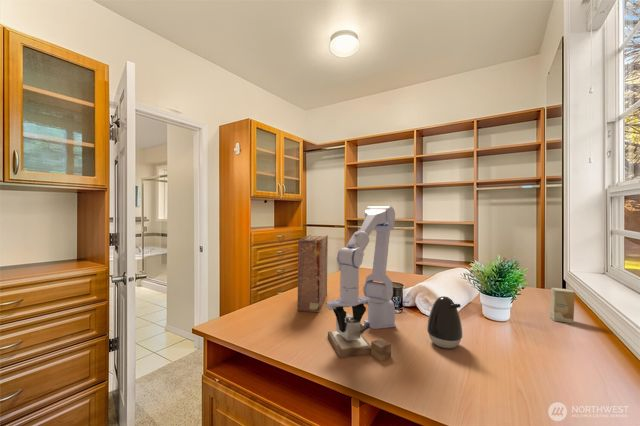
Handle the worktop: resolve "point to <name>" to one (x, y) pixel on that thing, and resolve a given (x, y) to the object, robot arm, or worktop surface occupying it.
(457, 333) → the pump dispenser
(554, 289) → the skincare box
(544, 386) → the worktop surface
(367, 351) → the stand
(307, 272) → the book
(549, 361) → the worktop surface
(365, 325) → the loose bolt
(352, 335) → the housing
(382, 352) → the walnut block
